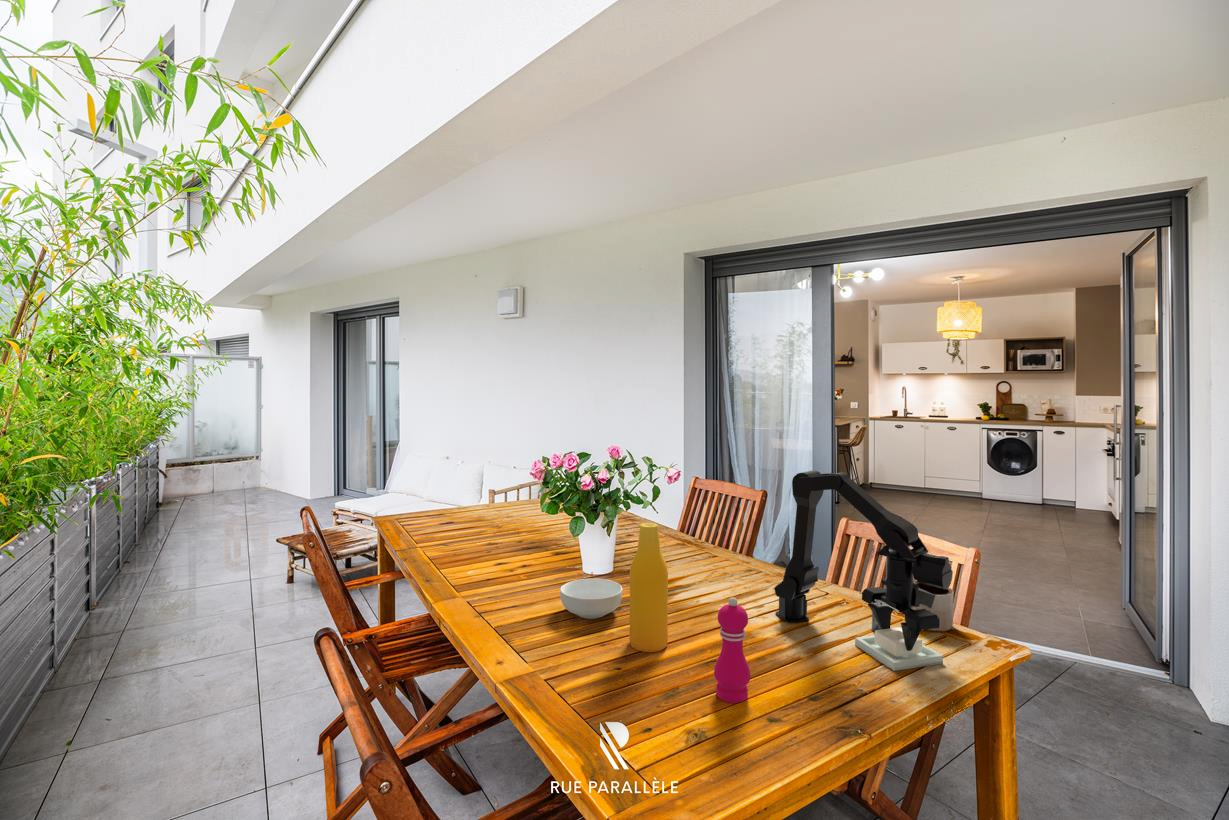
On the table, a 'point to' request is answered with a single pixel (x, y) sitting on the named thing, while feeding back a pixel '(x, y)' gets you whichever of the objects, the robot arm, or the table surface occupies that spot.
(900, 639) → the white block
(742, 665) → the pepper mill
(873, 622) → the post
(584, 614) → the cereal bowl
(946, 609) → the planter
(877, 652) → the tray
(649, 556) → the beer bottle
